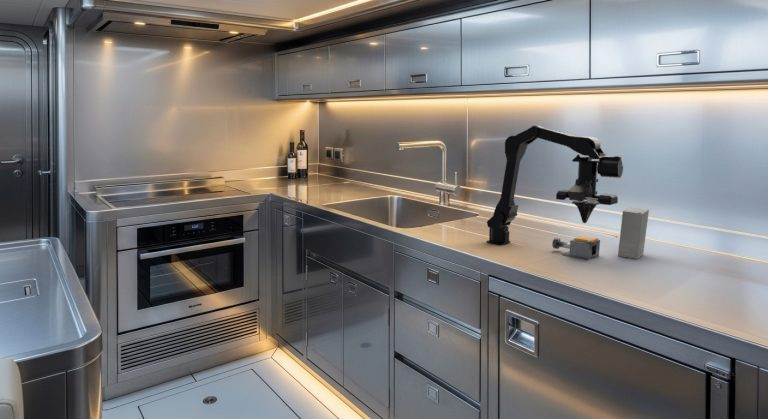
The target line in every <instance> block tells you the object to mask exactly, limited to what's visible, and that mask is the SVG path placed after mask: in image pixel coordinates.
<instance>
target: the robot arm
mask: <svg viewBox="0 0 768 419" xmlns="http://www.w3.org/2000/svg"><path fill="white" fill-rule="evenodd" d="M537 139H541V140H544V141H547V142H551V143H554V144H558V145H561V146H564V147H567V148H569V149H571V150H572V151H574V152H575V153H577V155H576V156H575V157H574V158H573V159H572V160H571V161H572V162H573V163H578V166H577V167H578V169H577V170H578V171H577V178H576V179H575V183H574V185H573V186H571V187H570V188H569V189H561V190H558V191H557V192H556V193H555V199H556V200H560V201H561V200H562V201H565V200H566V199H569V200H570V201H571V203H572V204H574V206H576V207H577V210H578V212H579V216H580V218H581V221H582V224H587V222H588V220H589V218H590V216H591V214H592V213H593V211H594V210H595V208H596V206H597V205H605V206H612V205H617V204H618V203H619V202H618V200H619V198H618V195H616V194H613V193H604V194H599V195H598V191H597V183H598V182H599V178H597V176H598V175H600V177H602V178H616V179H620V178H621V177H622V175H623V172H624V165H623V161H622V156H621V155H616V156H611V155H610V156H609V155H608V156H607V154H606V153H605V151H604V150H603V148H601V142H600V140H599V138H596V137H595V136H594V137H593V136H587V135H586V136H585V135H584V136H582V135H573V134H569V133H565V132H561V131H558V130H554V129H551V128H547V127H543V126H542V125H539V124H538V125H532V126H531V127H529V128H528V129H525V130H523V131H522V132H519V133H517V134H516V135H510V136H508V137H507V138H506V139H505V141H504V154H505V158H506V162H505V168H504V176H503V180H502V181H503V182H502V188H501V194H500V199H499V201H498V202H497V204H496V206H495V209H494V210H493V211H494V212H493V214H492V217H490V218H489V219H488V220H487V221H486V224H487V228H489V229H488V230H489V232H488V233H489V235H488V236H489V238H488V240H486V243H489V244H493V245H500V246H502V245H505V244H509V243H511V240H510V230H509V226H510V225H511V223H512V221H514V220H515V218H516V217H517V216H518V209H519V204H516V203H515V194H516V188H517V183H518V182H517V181H518V176H519V170H520V165H521V164H520V163H521V161H522V159H523V157H524V155H525V154H526V151H527V149H528V145H530V144H533V142H535V141H536V140H537Z"/></svg>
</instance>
